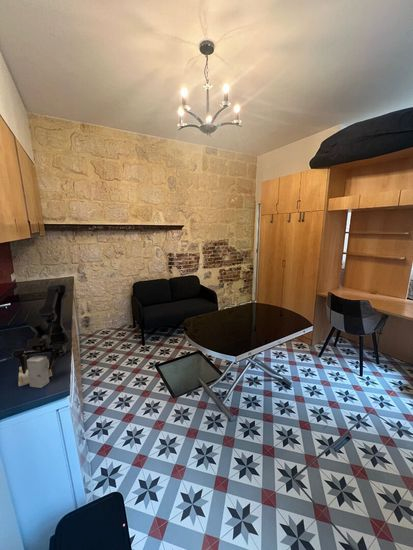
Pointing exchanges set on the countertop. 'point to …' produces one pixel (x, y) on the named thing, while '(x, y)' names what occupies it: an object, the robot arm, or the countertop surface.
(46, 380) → the skincare box
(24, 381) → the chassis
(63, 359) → the countertop surface
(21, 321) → the countertop surface
